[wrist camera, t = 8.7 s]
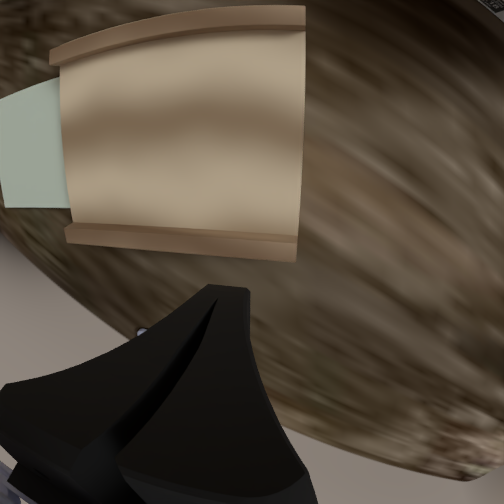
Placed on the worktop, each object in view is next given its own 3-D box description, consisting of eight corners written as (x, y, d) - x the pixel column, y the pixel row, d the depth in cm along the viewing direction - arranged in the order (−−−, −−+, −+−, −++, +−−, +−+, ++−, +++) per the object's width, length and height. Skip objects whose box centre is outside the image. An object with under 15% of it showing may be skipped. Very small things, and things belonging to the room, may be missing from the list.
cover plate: (95, 201, 20) (83, 208, 19) (16, 201, 21) (5, 207, 20) (88, 73, 16) (74, 72, 15) (6, 100, 17) (-6, 102, 16)
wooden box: (297, 241, 18) (295, 269, 15) (97, 227, 20) (68, 248, 17) (305, 19, 13) (305, -2, 10) (84, 48, 15) (50, 44, 12)
